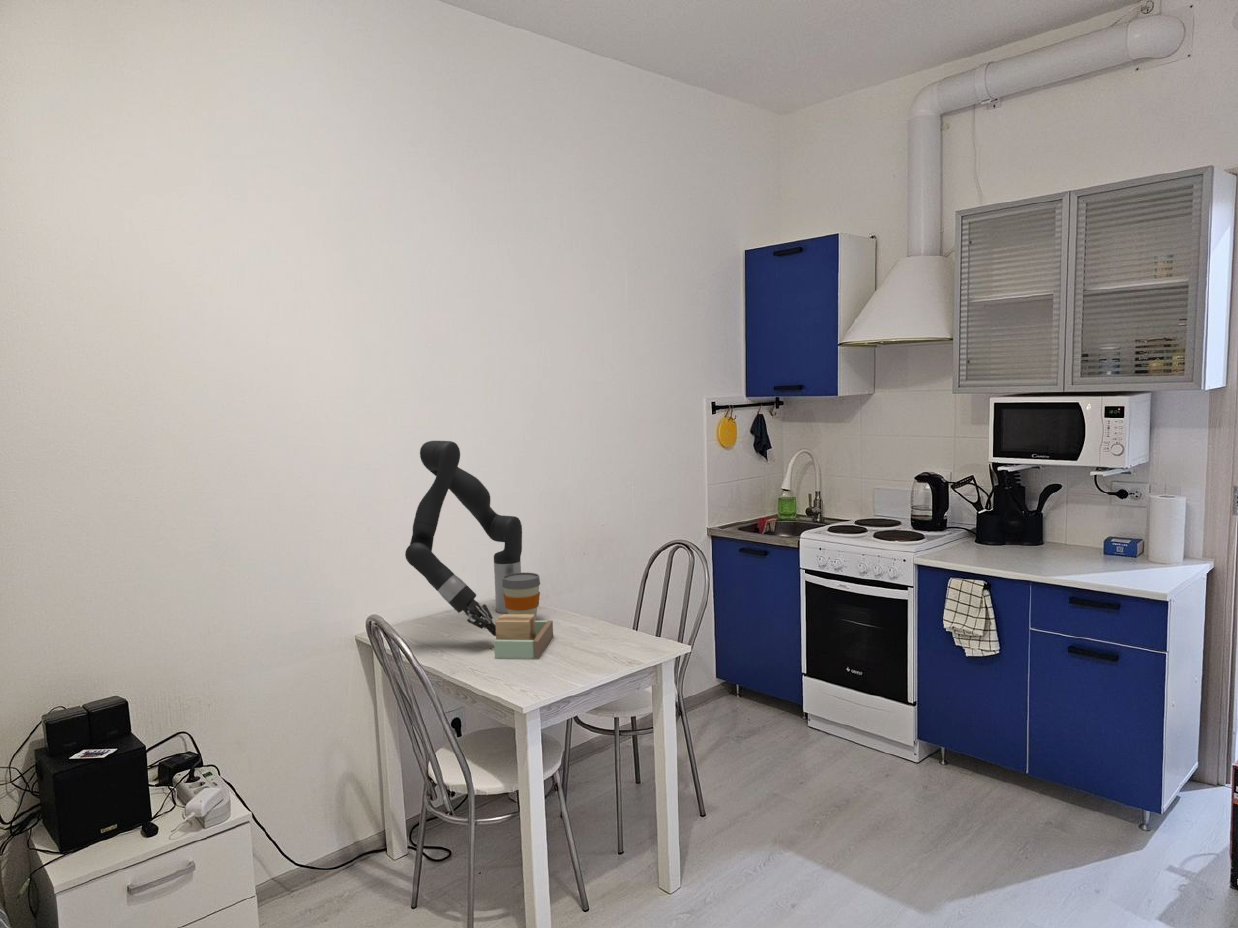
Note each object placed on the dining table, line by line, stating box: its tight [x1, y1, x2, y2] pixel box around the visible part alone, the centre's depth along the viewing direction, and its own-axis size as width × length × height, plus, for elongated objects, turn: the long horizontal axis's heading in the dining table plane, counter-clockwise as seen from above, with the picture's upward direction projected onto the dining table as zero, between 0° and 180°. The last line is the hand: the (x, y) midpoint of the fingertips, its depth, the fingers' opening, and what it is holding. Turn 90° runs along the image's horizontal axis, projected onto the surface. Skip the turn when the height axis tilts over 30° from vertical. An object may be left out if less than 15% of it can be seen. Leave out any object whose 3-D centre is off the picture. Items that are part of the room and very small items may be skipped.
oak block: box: [494, 613, 536, 640], centre depth 243 cm, size 8×10×9 cm
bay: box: [493, 620, 554, 660], centre depth 244 cm, size 21×13×5 cm, turn 173°
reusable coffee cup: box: [502, 572, 541, 621], centre depth 271 cm, size 12×13×15 cm
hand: (498, 633), depth 244 cm, fingers closed
